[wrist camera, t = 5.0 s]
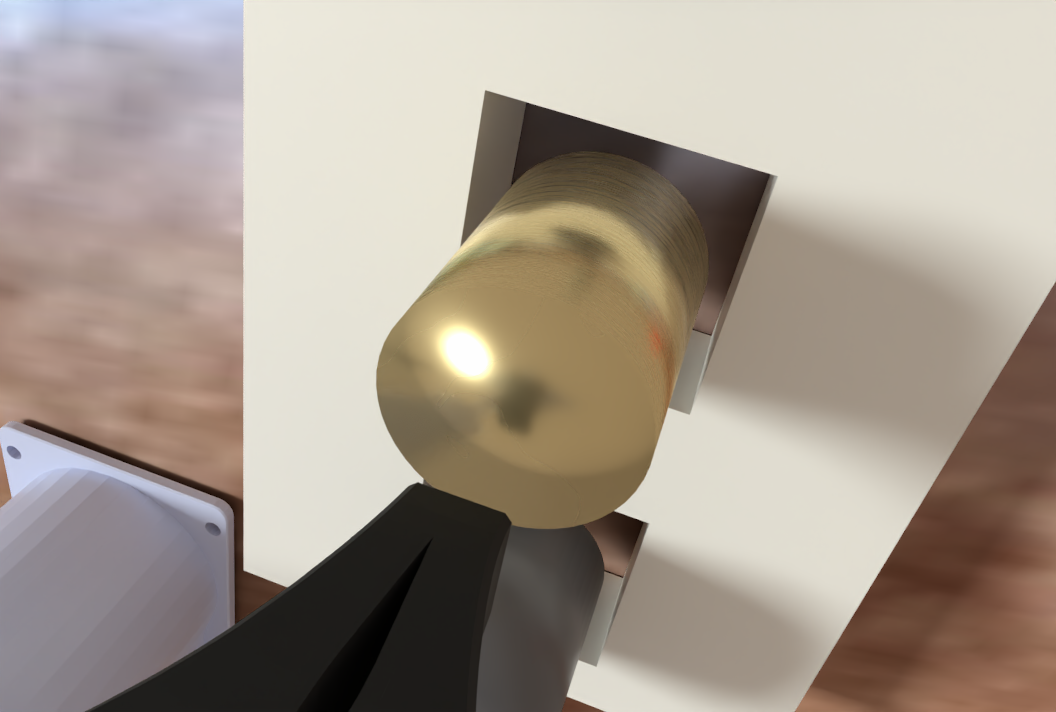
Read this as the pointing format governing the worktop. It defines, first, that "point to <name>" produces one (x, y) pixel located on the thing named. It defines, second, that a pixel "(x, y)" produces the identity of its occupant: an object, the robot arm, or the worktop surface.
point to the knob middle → (550, 343)
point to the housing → (710, 361)
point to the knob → (538, 619)
